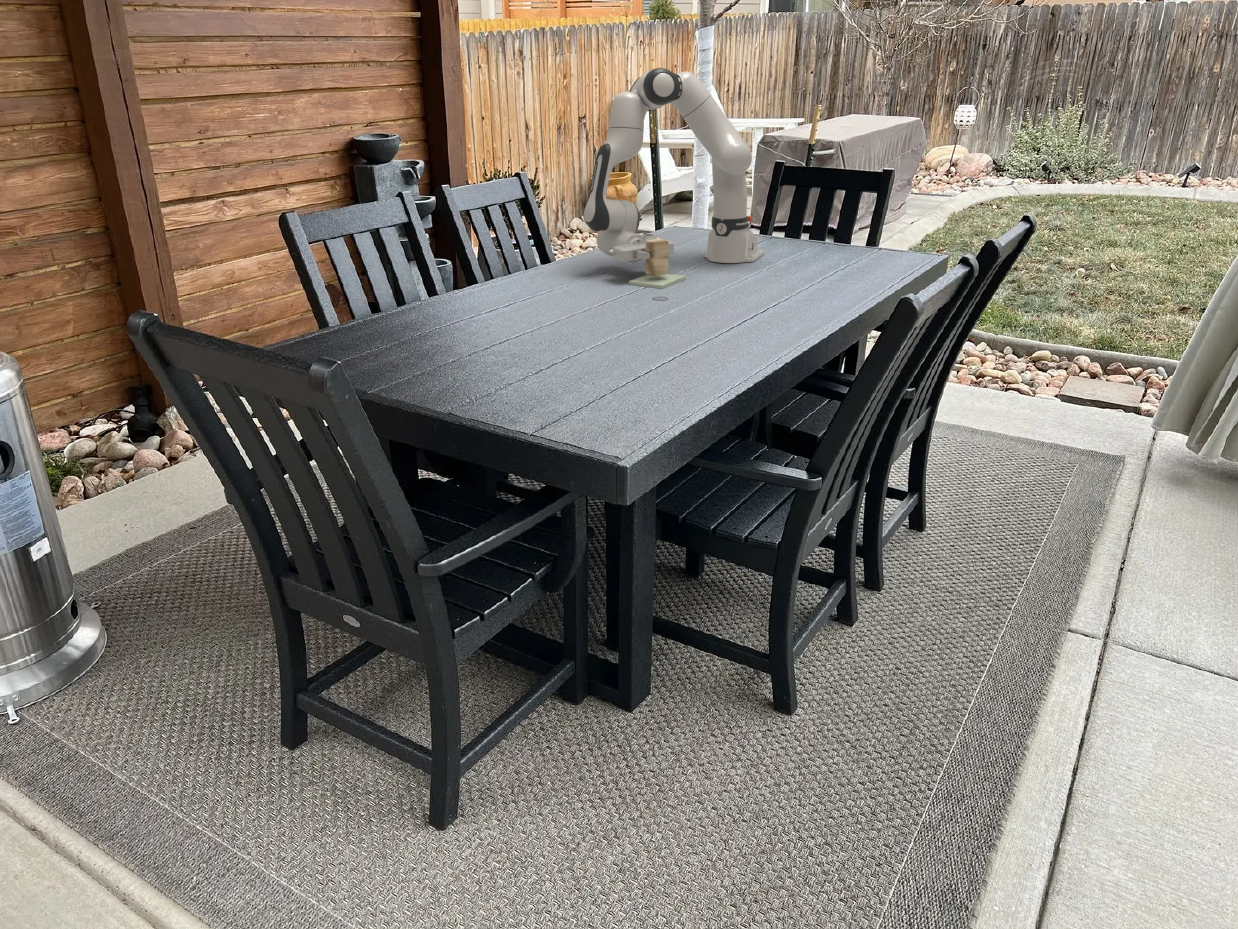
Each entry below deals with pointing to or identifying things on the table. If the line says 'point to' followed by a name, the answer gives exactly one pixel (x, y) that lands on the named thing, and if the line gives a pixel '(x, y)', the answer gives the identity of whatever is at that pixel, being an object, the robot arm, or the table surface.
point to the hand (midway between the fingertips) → (658, 254)
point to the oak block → (657, 257)
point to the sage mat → (657, 280)
